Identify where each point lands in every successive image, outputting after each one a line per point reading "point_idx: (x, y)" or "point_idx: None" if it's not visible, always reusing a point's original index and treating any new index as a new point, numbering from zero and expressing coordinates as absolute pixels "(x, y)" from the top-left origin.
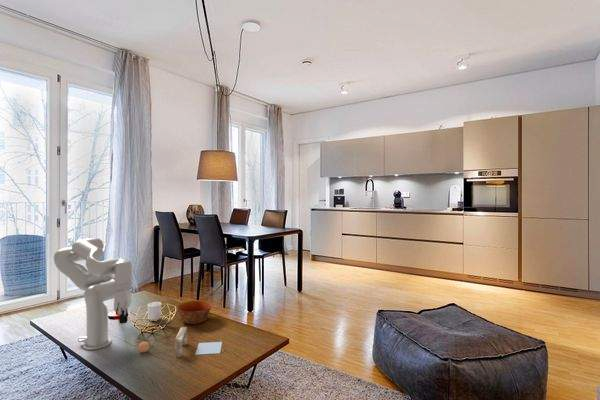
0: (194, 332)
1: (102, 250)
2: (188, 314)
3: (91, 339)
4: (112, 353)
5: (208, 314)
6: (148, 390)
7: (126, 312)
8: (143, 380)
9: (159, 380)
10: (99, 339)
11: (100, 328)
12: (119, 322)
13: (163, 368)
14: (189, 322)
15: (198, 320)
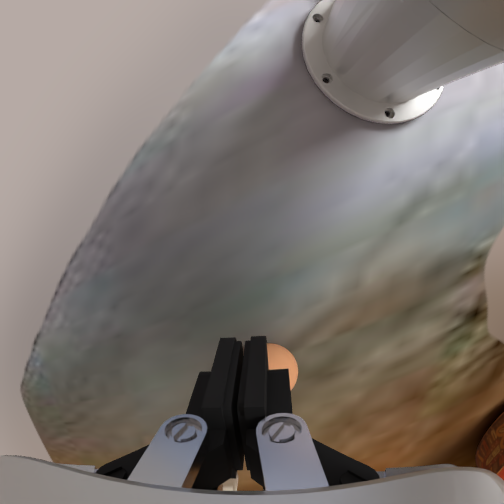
0: (420, 461)
1: None
2: (491, 468)
3: (330, 19)
4: (258, 193)
5: (500, 471)
6: (39, 415)
7: (265, 490)
8: (67, 401)
9: (80, 436)
10: (346, 65)
11: (376, 41)
12: (219, 341)
13: (139, 444)
14: (484, 439)
15: (476, 464)
